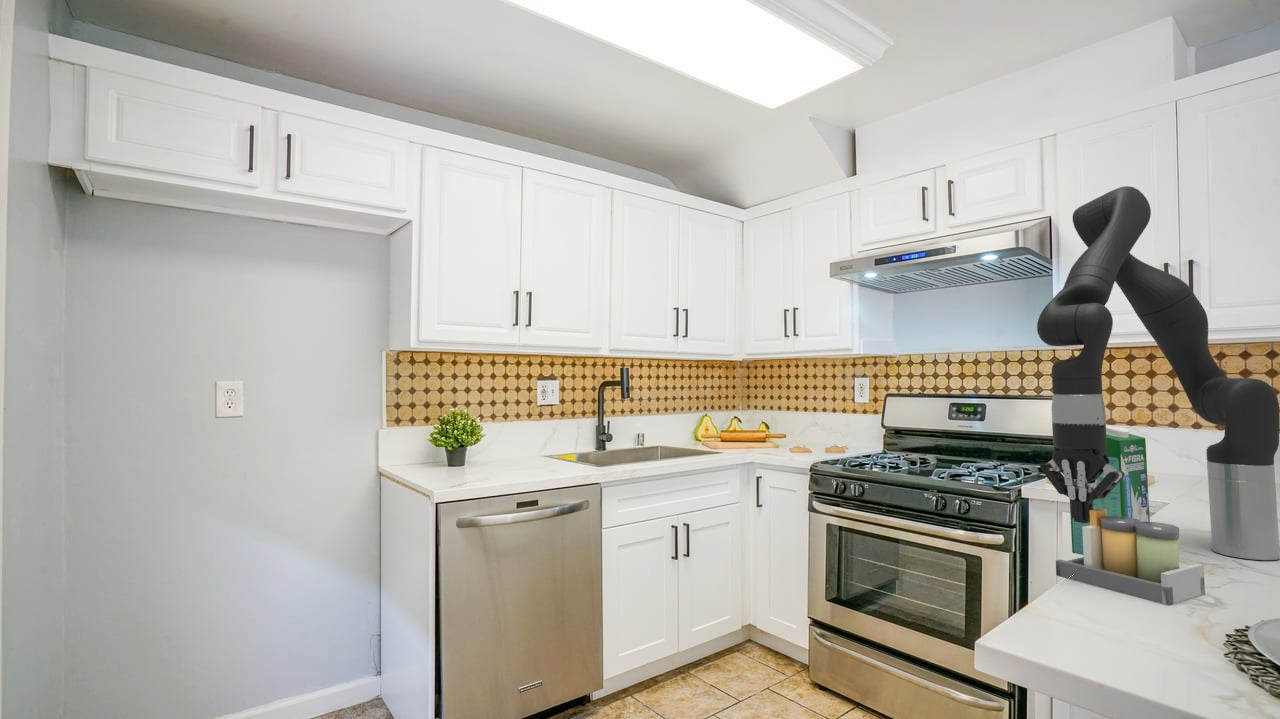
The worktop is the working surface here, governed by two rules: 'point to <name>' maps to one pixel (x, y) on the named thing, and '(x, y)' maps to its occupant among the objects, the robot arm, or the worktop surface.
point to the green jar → (1156, 549)
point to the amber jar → (1119, 545)
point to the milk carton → (1121, 482)
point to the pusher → (1093, 540)
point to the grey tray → (1139, 581)
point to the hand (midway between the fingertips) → (1082, 522)
